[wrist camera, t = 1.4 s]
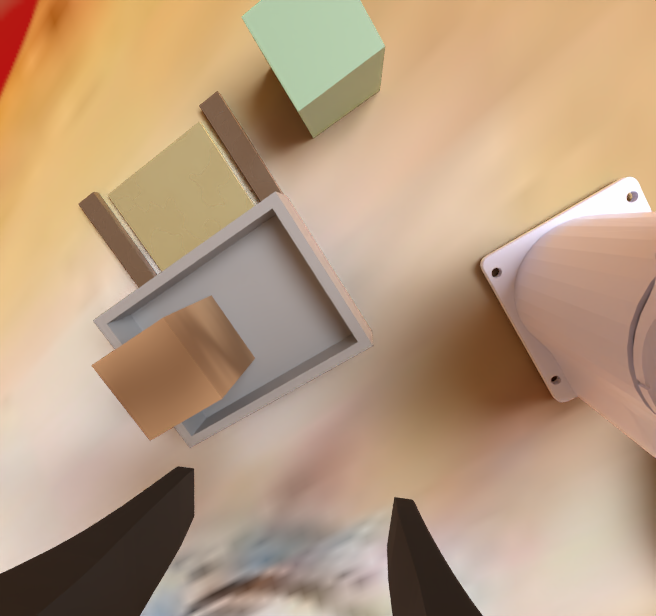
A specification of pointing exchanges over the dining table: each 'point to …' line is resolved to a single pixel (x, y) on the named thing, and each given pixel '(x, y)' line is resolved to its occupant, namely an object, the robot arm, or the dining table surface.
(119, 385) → the copper block
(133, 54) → the dining table surface
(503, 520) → the dining table surface
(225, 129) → the rails
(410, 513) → the robot arm
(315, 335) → the grey shallow tray
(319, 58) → the green block
